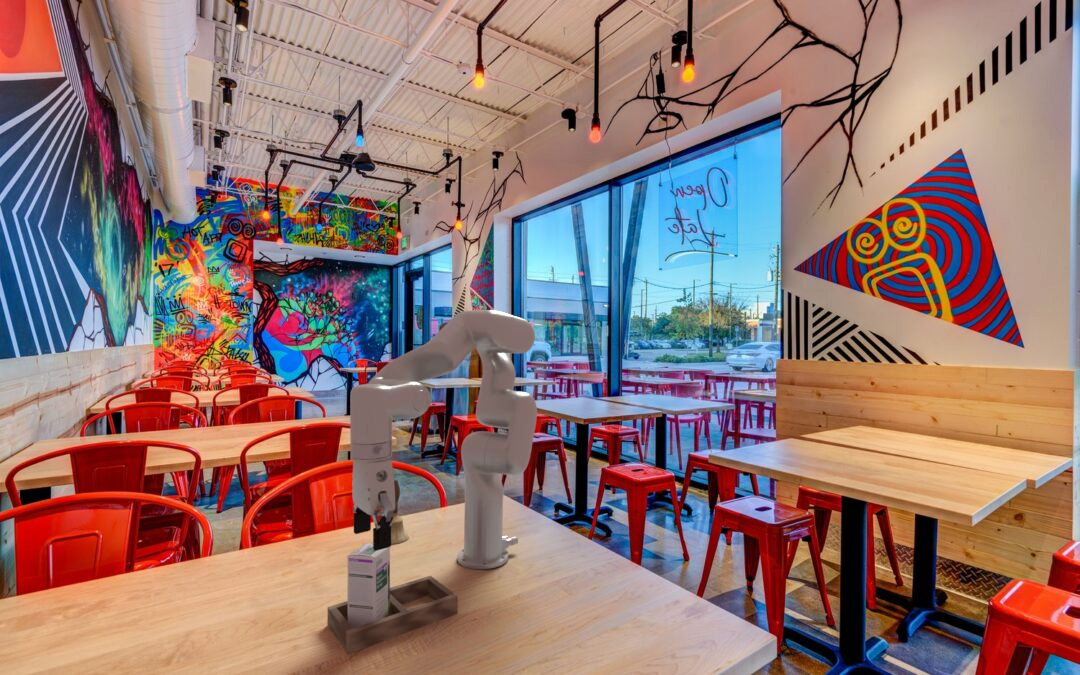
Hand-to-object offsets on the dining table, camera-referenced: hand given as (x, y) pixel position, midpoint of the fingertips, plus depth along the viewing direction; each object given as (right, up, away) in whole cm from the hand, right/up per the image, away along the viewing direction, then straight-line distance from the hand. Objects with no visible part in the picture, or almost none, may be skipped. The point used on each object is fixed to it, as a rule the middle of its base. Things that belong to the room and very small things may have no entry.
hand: (371, 539), depth 98 cm
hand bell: (-8, -17, +43) cm, 47 cm away
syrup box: (0, -16, 0) cm, 16 cm away
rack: (+3, -17, +3) cm, 17 cm away
